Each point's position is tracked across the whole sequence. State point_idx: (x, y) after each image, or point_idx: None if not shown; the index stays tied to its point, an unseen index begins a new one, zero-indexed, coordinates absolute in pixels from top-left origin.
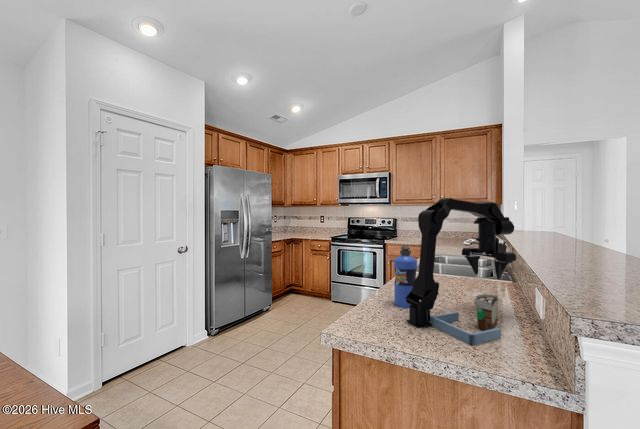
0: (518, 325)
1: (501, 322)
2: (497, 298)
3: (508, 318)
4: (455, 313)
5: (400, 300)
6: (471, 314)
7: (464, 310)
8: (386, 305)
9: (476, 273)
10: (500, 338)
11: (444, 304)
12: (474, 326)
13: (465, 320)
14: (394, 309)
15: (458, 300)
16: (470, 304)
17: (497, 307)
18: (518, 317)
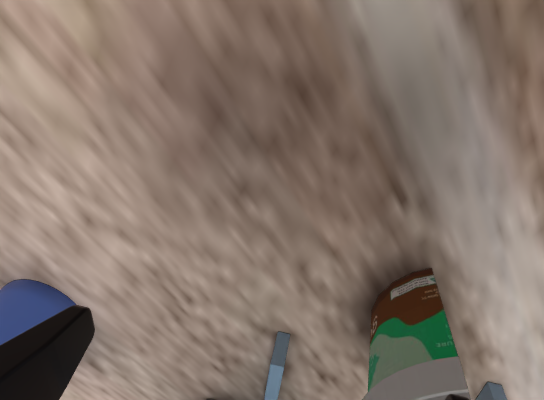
0: (527, 192)
1: (433, 218)
2: (467, 389)
3: (439, 117)
4: (281, 378)
5: None
6: (265, 223)
7: (203, 194)
8: None
9: (84, 340)
10: (501, 386)
11: (84, 188)
12: (366, 343)
13: (302, 311)
14: (87, 377)
15: (33, 35)
16: (130, 48)
17: (451, 334)
18: (487, 30)
